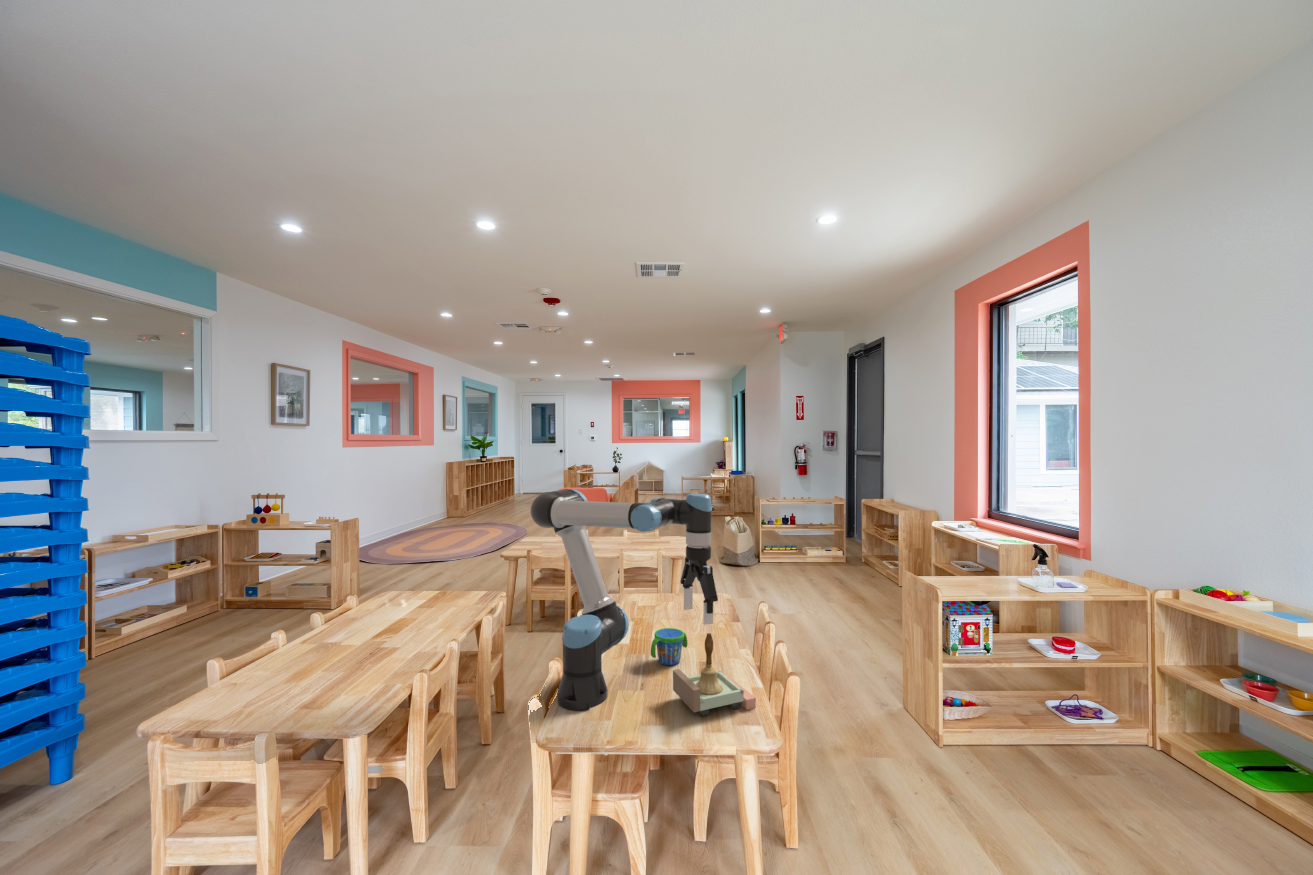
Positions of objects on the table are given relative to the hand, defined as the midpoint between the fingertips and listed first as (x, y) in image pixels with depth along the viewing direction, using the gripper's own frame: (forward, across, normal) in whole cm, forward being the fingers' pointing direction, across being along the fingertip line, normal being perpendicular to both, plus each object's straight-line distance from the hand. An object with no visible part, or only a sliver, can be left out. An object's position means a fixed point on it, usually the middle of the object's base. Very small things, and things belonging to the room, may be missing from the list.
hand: (697, 616), depth 155 cm
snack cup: (+26, +28, -3) cm, 38 cm away
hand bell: (+20, -4, -2) cm, 21 cm away
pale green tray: (+24, -4, -2) cm, 25 cm away
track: (+25, -4, +2) cm, 26 cm away
